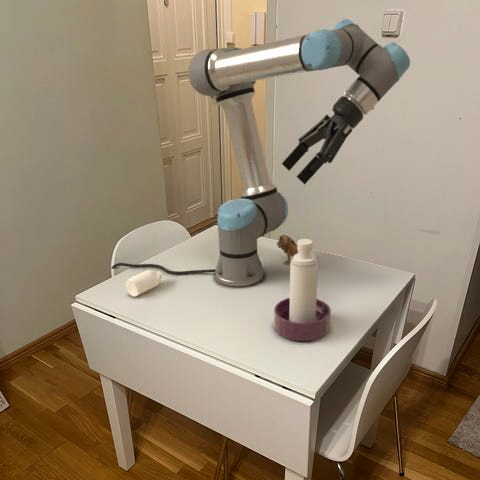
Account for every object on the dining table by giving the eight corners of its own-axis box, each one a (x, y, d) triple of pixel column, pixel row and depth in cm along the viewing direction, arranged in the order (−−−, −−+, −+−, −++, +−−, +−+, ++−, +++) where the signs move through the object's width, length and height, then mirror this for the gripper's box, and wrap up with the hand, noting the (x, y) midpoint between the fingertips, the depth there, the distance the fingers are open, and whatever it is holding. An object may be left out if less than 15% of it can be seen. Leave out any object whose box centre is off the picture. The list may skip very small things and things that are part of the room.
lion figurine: (274, 261, 164) (274, 236, 159) (283, 256, 168) (283, 231, 163) (311, 272, 156) (312, 246, 151) (320, 267, 159) (321, 241, 155)
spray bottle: (306, 335, 123) (309, 242, 111) (284, 327, 127) (285, 236, 114) (319, 324, 128) (325, 233, 115) (298, 316, 131) (300, 228, 119)
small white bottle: (169, 284, 152) (167, 268, 149) (138, 299, 145) (136, 282, 142) (156, 279, 156) (154, 263, 153) (126, 293, 148) (123, 276, 145)
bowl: (269, 339, 123) (269, 321, 121) (279, 312, 135) (279, 294, 132) (326, 345, 120) (327, 326, 117) (331, 316, 132) (332, 298, 129)
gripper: (385, 125, 110) (318, 197, 115) (344, 110, 131) (288, 171, 136) (365, 100, 106) (297, 176, 112) (326, 89, 127) (270, 153, 133)
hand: (292, 173), depth 124 cm, fingers open, 13 cm apart
